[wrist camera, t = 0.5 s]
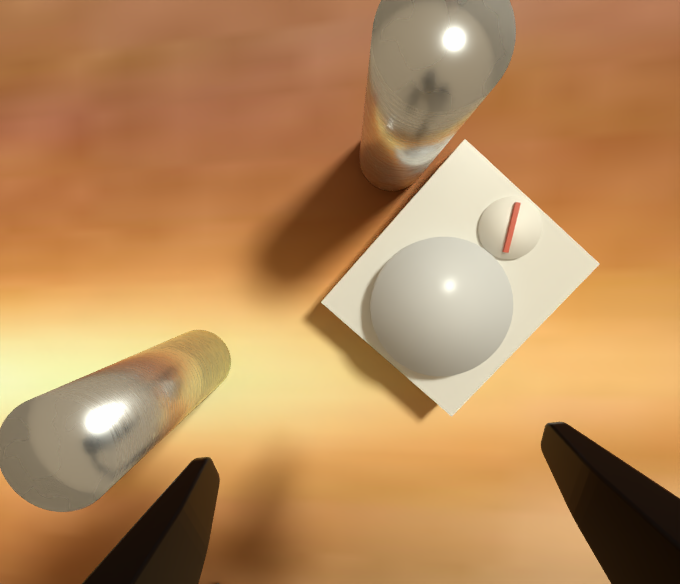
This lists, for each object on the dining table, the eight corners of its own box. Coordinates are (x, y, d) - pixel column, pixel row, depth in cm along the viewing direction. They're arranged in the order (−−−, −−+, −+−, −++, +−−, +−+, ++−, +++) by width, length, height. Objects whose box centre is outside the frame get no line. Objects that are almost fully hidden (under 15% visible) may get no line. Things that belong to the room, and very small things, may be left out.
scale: (441, 401, 24) (456, 424, 21) (323, 298, 24) (319, 304, 20) (573, 263, 23) (612, 263, 19) (452, 152, 22) (471, 132, 19)
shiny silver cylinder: (204, 402, 25) (68, 534, 13) (157, 362, 24) (-27, 458, 12) (243, 358, 24) (140, 451, 12) (195, 317, 24) (43, 370, 12)
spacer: (395, 205, 23) (446, 141, 11) (345, 160, 23) (342, 45, 11) (440, 153, 22) (546, 27, 10) (390, 107, 22) (439, -75, 10)
